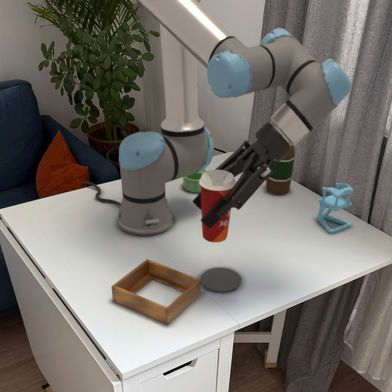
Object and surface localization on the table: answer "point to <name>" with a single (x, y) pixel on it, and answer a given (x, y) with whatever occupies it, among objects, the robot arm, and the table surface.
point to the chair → (334, 205)
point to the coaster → (221, 280)
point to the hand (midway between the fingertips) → (200, 214)
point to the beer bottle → (281, 174)
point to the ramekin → (193, 182)
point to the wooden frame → (151, 271)
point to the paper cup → (215, 201)
